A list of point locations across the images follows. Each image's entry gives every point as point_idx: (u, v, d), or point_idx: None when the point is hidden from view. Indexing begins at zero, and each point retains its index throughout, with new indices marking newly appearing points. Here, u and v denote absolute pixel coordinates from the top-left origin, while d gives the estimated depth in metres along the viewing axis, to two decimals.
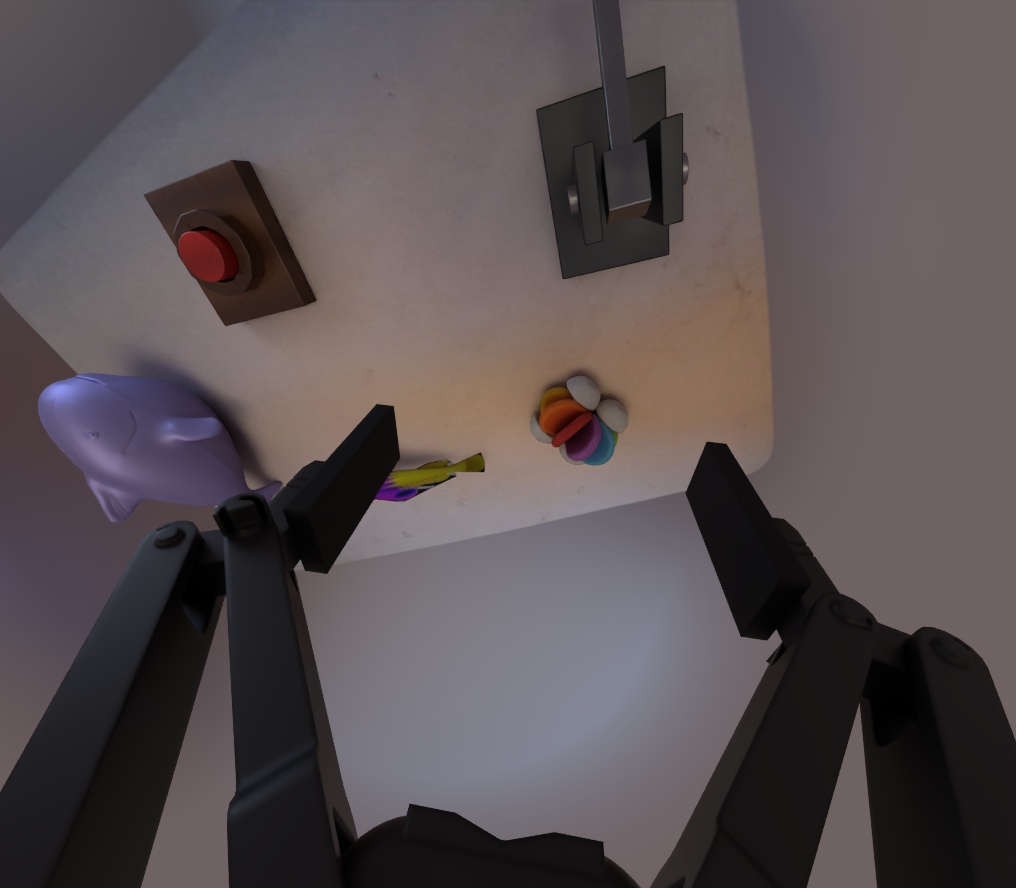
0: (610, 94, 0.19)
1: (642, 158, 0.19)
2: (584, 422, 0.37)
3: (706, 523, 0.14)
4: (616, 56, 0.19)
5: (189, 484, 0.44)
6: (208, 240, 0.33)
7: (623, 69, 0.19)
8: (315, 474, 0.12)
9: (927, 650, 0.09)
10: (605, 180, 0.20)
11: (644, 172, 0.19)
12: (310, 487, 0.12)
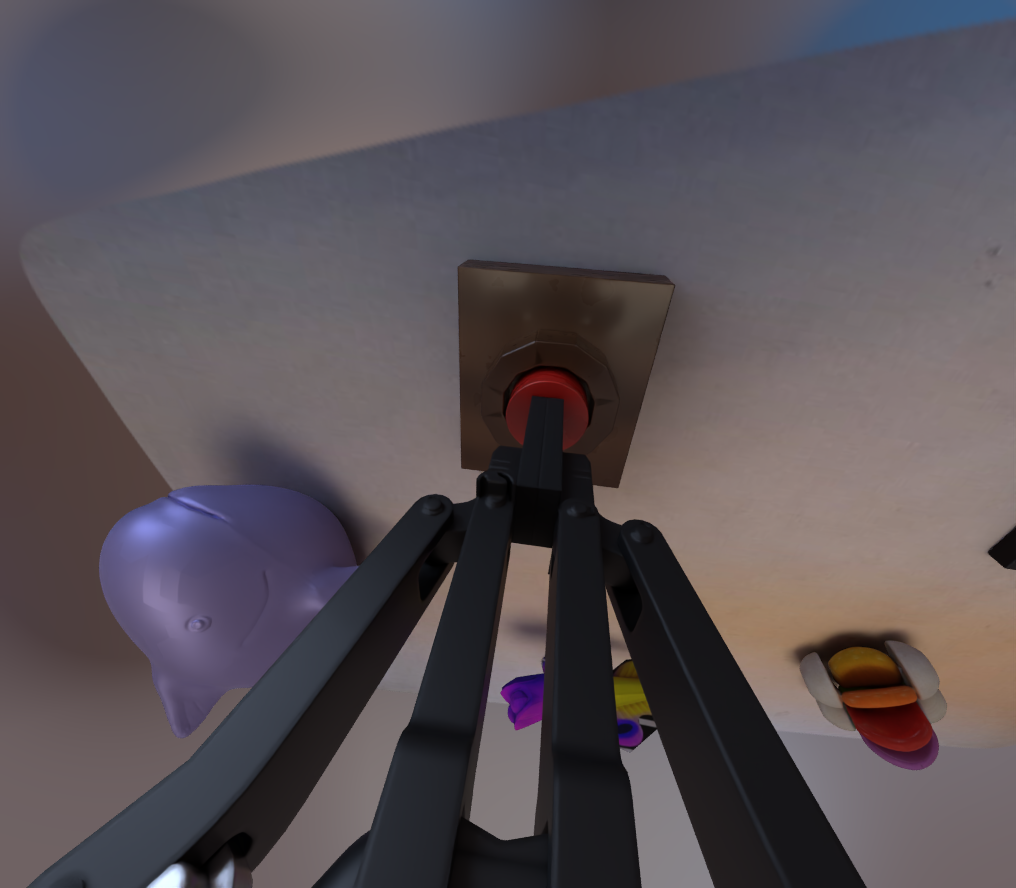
0: None
1: None
2: (931, 731, 0.28)
3: None
4: None
5: None
6: (583, 404, 0.18)
7: None
8: (522, 456, 0.14)
9: (630, 542, 0.11)
10: None
11: None
12: (526, 467, 0.13)
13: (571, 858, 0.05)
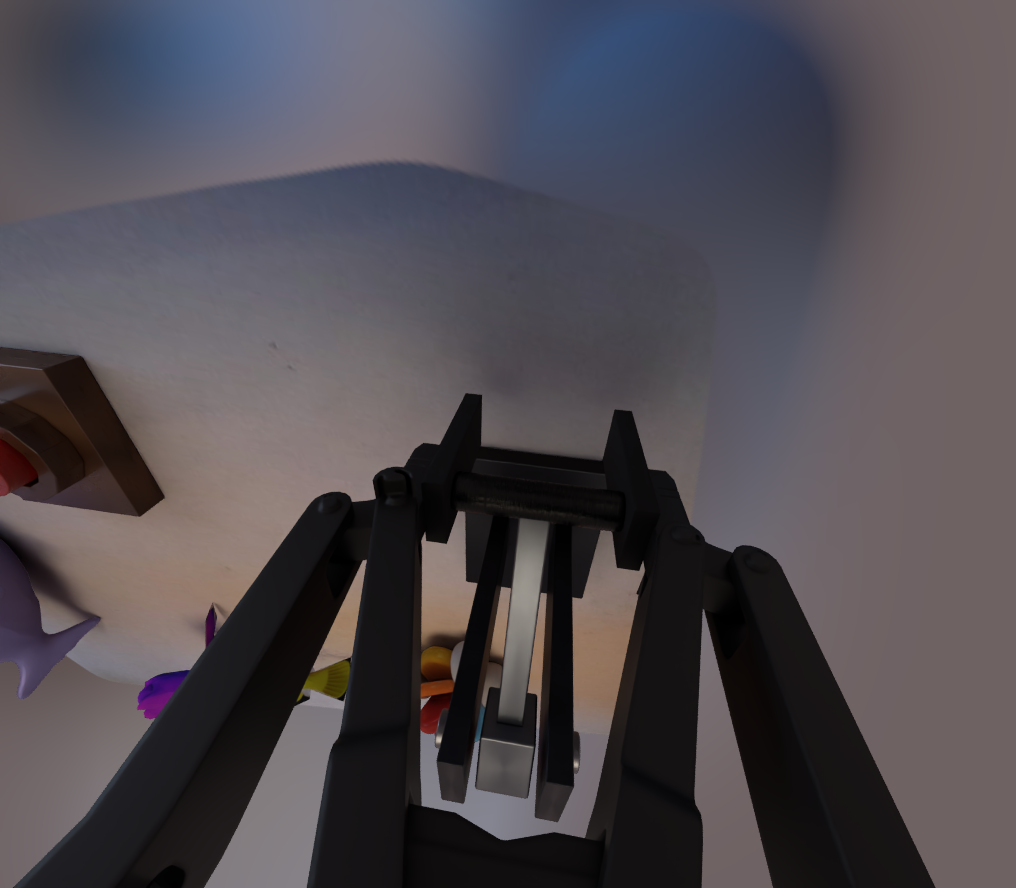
0: (508, 669, 0.15)
1: (525, 761, 0.15)
2: None
3: (609, 480, 0.16)
4: (525, 639, 0.15)
5: None
6: None
7: (529, 654, 0.15)
8: (437, 453, 0.14)
9: (742, 567, 0.10)
10: (478, 760, 0.15)
11: (524, 774, 0.15)
12: (437, 464, 0.13)
13: (627, 871, 0.05)
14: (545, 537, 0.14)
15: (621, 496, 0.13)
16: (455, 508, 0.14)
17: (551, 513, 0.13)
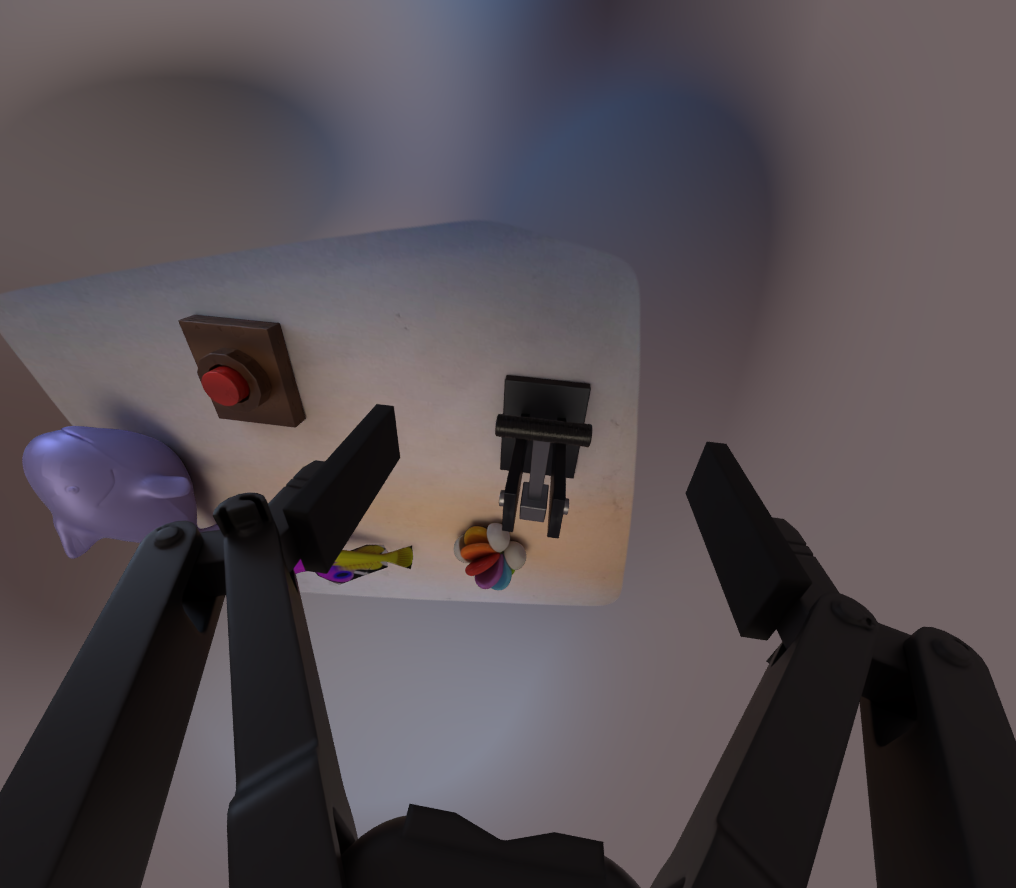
0: (532, 485, 0.30)
1: (542, 513, 0.33)
2: (491, 565, 0.50)
3: (706, 523, 0.14)
4: (539, 477, 0.29)
5: (149, 531, 0.50)
6: (230, 382, 0.40)
7: (542, 481, 0.29)
8: (315, 474, 0.12)
9: (927, 650, 0.09)
10: (520, 512, 0.33)
11: (541, 516, 0.33)
12: (310, 487, 0.12)
13: None
14: (547, 447, 0.25)
15: (589, 433, 0.24)
16: None
17: (550, 441, 0.24)
